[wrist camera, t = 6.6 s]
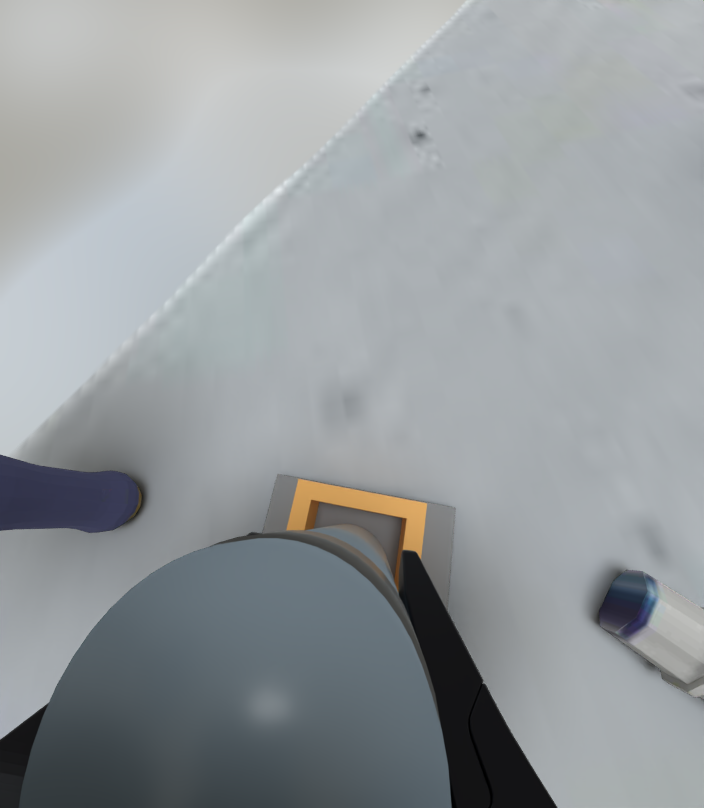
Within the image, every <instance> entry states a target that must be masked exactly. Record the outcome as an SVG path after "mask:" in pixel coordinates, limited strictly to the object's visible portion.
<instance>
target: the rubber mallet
mask: <svg viewBox="0 0 704 808" xmlns="http://www.w3.org/2000/svg"><path fill="white" fill-rule="evenodd" d="M141 498H142V495H141V492H140V490H139V487H137V485H136V483H135V482H134V481H133V480H132V479H131V478H130V477H129V476H128V475H127V474H125V473H121V472H117V471H103V472H80V471H73V470H66V469H59V468H52V467H45V466H39V465H34V464H30V463H27V462H23V461H20V460H17V459H13V458H10V457H7V456H3V455H0V531H2V530H13V529H45V528H72V529H78V530H81V531H85V532H88V533H97V532H103V531H110V530H114V529H116V528H117V527H119V526H121V525H122V524H124V523H125V522H127V521H128V520H129V519H131V518H132V517H133V516H135V514H136V513H137V511H138V509H139V508H140V506H141Z"/></svg>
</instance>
